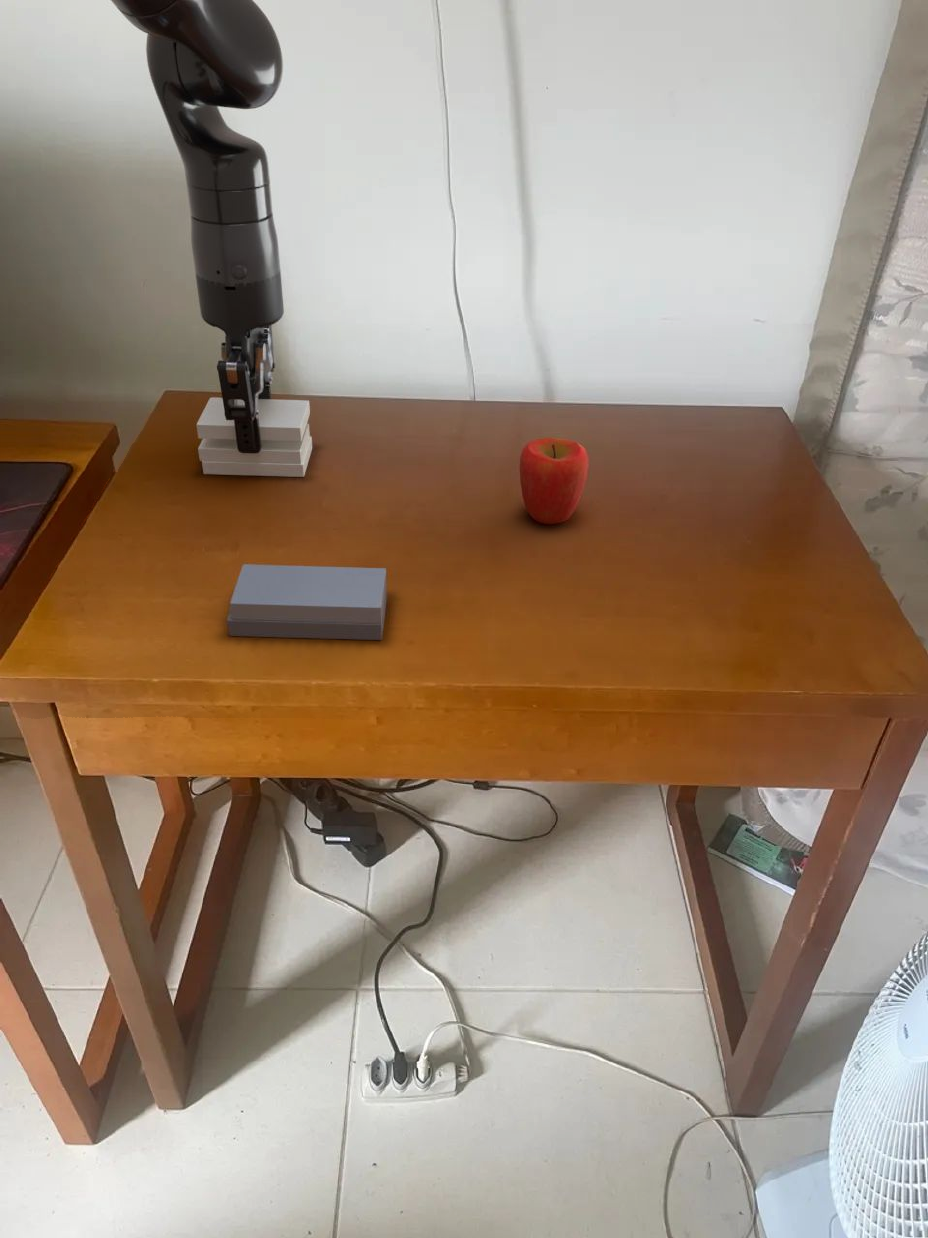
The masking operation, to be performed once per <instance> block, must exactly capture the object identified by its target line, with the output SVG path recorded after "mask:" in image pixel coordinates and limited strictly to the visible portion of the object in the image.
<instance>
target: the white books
mask: <svg viewBox="0 0 928 1238" xmlns="http://www.w3.org/2000/svg"><path fill="white" fill-rule="evenodd" d="M312 450H313V438H312V436H311V434H310V423H307V425H306V428H305V431H304V435H303V438H302V441H301V442H298V441H265V440H261V449H260V452H259V453H256V454H255V453H241V452H239V451H238V449H237V441H236V440H233V439H201V442H200V444H199V446H198V448H197V451H198V457H199V461H200V462H201V465H202V471H203V475H219V476H220V475H224V476H253V477H255V476H259V477H260V476H261V477H287V478H288V477H291V478H294V477H295V478H304V477H305V475H306V472H307V468H308V465H309V461H310V458H311V455H312V452H313V451H312Z"/></svg>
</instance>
